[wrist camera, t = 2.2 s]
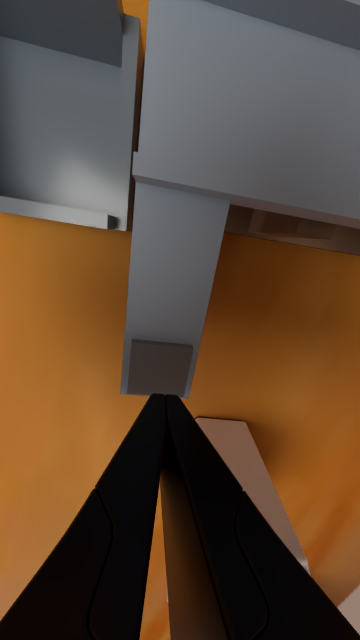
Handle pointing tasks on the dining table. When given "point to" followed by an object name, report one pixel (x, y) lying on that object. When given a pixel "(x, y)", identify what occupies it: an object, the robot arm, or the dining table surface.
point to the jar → (252, 477)
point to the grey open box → (69, 110)
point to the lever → (231, 154)
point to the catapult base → (292, 230)
